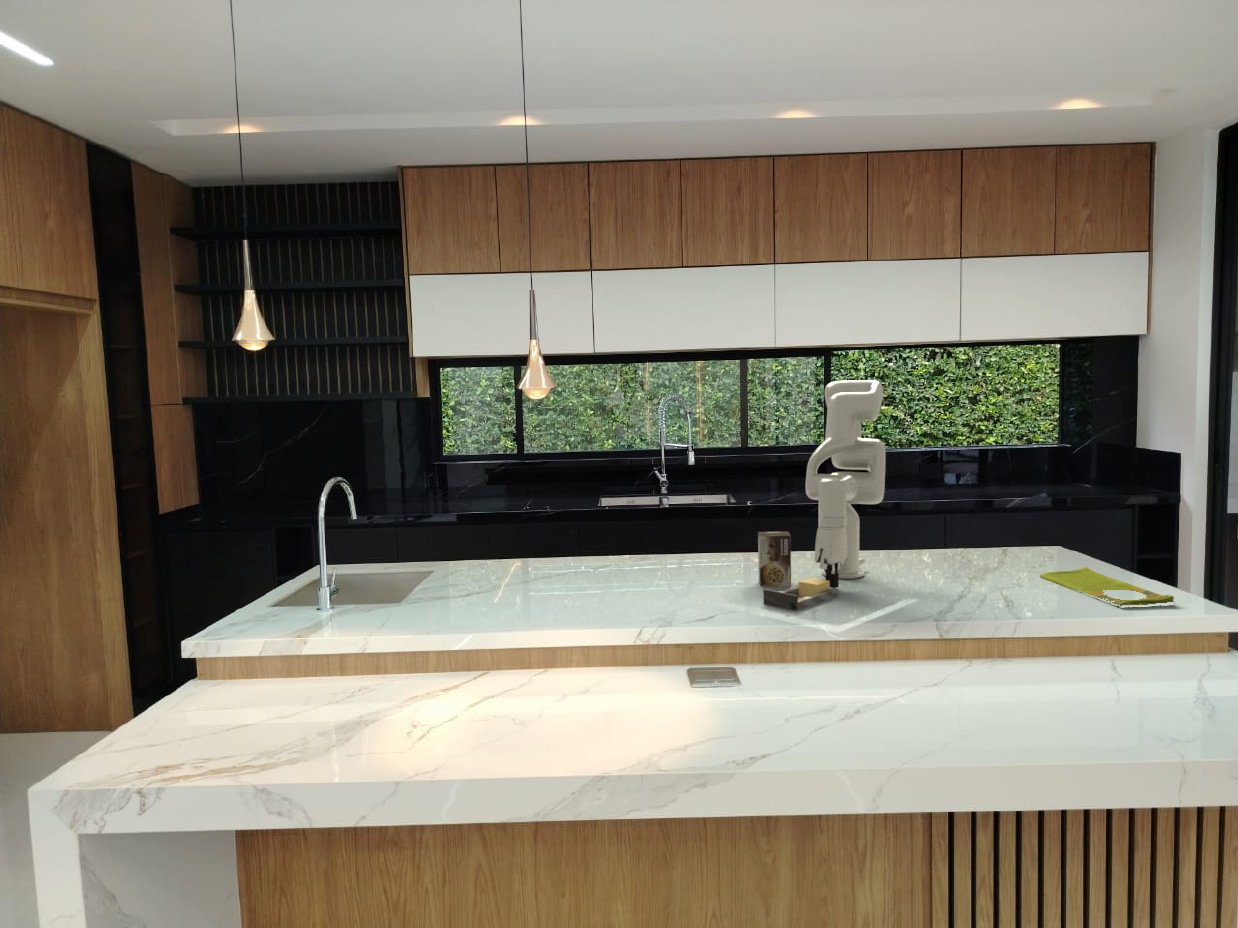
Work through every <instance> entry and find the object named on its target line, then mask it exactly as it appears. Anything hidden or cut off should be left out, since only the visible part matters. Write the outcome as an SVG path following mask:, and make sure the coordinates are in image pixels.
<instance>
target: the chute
mask: <svg viewBox="0 0 1238 928" xmlns="http://www.w3.org/2000/svg"><path fill="white" fill-rule="evenodd" d="M836 597H839V588H837V587H836V588H830V589H829V590H826V591H823V592H820V593H817V594H814V595H811V596H808V597H800V598H799V596H798V585H795V586H793V587H792V586H791V587H789V588H786V589H783V590H779V591H778V590H773V589H767V588H764V589H763V605H767V606H771V607H775V608H781V609H785V610H789V611H793V612H798V611H800V610H803V609H806V608H809V607H812V606H814V605H817V604H819V603H822V602H825V601H827V600H831V599H834V598H836Z"/></svg>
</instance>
